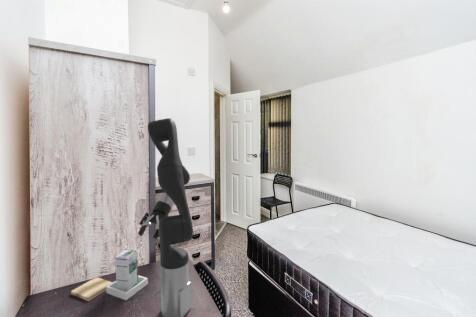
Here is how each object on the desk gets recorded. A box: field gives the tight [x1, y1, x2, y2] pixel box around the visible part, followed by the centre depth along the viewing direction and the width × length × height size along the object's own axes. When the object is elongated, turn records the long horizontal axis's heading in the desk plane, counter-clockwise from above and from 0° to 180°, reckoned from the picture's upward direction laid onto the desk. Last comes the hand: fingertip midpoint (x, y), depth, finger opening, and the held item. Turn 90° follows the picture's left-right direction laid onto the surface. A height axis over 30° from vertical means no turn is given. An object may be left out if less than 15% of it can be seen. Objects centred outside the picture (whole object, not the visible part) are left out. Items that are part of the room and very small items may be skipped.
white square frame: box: [105, 274, 149, 301], centre depth 90 cm, size 11×11×2 cm
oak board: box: [70, 276, 114, 302], centre depth 89 cm, size 10×10×1 cm
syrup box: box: [114, 249, 139, 292], centre depth 89 cm, size 6×6×14 cm
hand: (147, 236), depth 99 cm, fingers open, 8 cm apart
